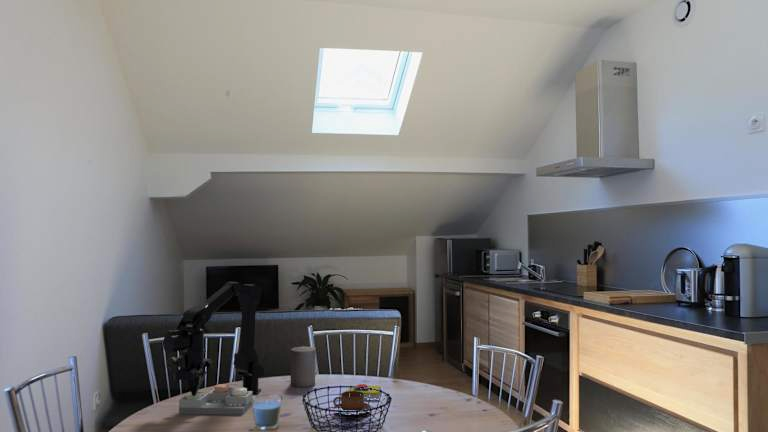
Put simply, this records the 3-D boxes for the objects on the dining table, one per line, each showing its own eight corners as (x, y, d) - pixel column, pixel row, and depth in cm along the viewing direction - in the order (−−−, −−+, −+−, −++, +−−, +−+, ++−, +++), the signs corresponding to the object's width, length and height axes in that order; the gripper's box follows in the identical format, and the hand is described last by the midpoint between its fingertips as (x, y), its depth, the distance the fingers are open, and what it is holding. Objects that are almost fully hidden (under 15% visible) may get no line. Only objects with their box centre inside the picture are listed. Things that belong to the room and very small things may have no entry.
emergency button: (347, 381, 205) (387, 382, 202) (347, 393, 204) (387, 395, 202) (341, 388, 195) (383, 389, 193) (341, 400, 195) (383, 402, 193)
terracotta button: (217, 391, 193) (217, 384, 193) (230, 391, 193) (230, 384, 193) (212, 395, 188) (212, 387, 188) (226, 395, 188) (226, 387, 188)
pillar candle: (285, 384, 215) (285, 345, 216) (304, 379, 223) (304, 342, 224) (301, 388, 209) (302, 348, 210) (320, 383, 217) (320, 345, 217)
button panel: (196, 400, 194) (197, 387, 194) (255, 401, 193) (256, 388, 193) (178, 413, 179) (179, 399, 179) (242, 414, 178) (242, 400, 178)
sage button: (189, 400, 185) (189, 393, 185) (203, 400, 185) (203, 393, 185) (183, 405, 180) (183, 397, 180) (198, 405, 180) (198, 397, 180)
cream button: (234, 394, 189) (234, 387, 189) (248, 394, 188) (248, 387, 188) (230, 398, 184) (230, 391, 184) (244, 399, 183) (244, 391, 184)
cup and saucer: (341, 421, 172) (341, 401, 173) (329, 410, 183) (329, 391, 183) (376, 416, 177) (376, 396, 177) (362, 405, 188) (362, 387, 188)
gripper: (182, 342, 193) (181, 387, 193) (158, 353, 175) (157, 403, 174) (213, 342, 193) (213, 387, 192) (192, 353, 174) (192, 403, 173)
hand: (194, 395), depth 183 cm, fingers closed, pressing on sage button
